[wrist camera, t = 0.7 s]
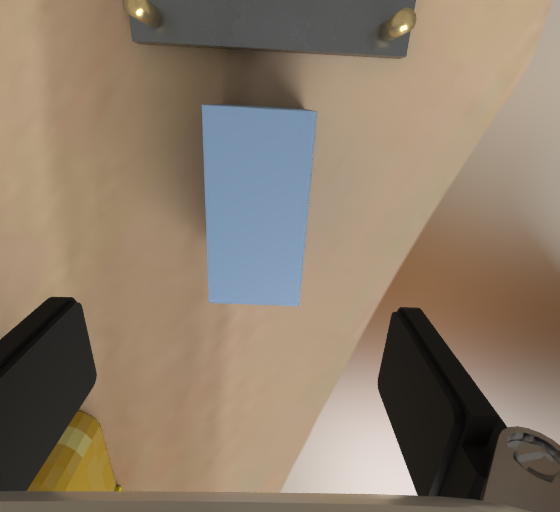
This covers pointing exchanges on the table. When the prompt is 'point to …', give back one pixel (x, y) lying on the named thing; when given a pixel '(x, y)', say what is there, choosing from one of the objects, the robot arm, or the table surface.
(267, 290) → the blue block
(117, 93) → the table surface
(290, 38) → the dowel plate
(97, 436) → the book
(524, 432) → the robot arm
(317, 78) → the table surface
